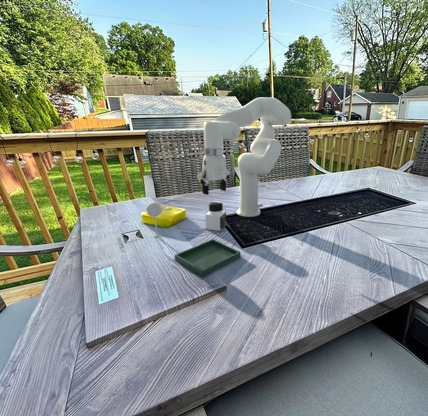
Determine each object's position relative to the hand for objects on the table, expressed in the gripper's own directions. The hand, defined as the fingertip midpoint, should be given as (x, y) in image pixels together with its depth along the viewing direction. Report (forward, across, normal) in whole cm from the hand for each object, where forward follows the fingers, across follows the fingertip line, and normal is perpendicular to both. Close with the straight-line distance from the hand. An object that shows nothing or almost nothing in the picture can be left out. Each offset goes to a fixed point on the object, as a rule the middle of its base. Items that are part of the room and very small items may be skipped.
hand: (214, 192), depth 114 cm
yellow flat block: (+17, -10, +24) cm, 31 cm away
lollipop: (+17, -22, +10) cm, 30 cm away
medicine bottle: (+17, +1, 0) cm, 17 cm away
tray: (+17, -19, -19) cm, 32 cm away
